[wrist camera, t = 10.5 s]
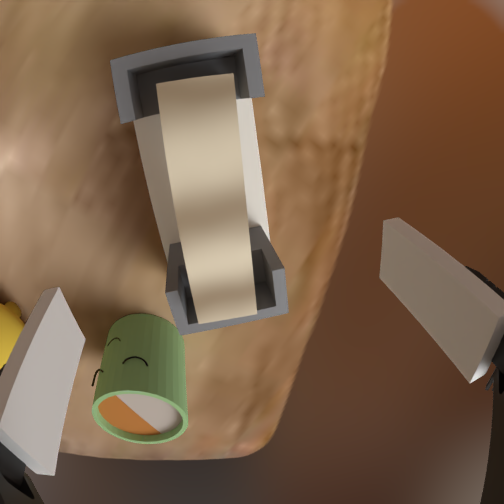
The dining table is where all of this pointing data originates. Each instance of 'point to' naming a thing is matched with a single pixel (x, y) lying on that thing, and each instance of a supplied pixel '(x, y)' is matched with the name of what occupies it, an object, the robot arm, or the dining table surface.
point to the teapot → (9, 329)
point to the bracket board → (156, 171)
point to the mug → (142, 381)
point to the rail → (209, 193)
